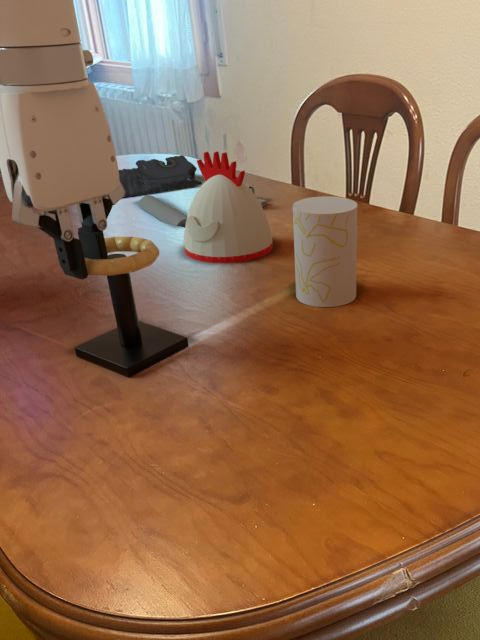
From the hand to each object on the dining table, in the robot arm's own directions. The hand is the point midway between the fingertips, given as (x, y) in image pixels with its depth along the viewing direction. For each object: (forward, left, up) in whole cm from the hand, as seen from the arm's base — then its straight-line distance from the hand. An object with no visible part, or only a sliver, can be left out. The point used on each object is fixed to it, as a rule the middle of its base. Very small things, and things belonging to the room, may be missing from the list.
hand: (86, 271), depth 67 cm
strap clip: (-28, +57, -11) cm, 64 cm away
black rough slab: (-59, +59, -11) cm, 84 cm away
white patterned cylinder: (+9, +30, -11) cm, 33 cm away
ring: (0, +4, +1) cm, 4 cm away
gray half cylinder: (-38, +45, -11) cm, 60 cm away
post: (0, +4, -11) cm, 11 cm away
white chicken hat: (-14, +36, -11) cm, 40 cm away
